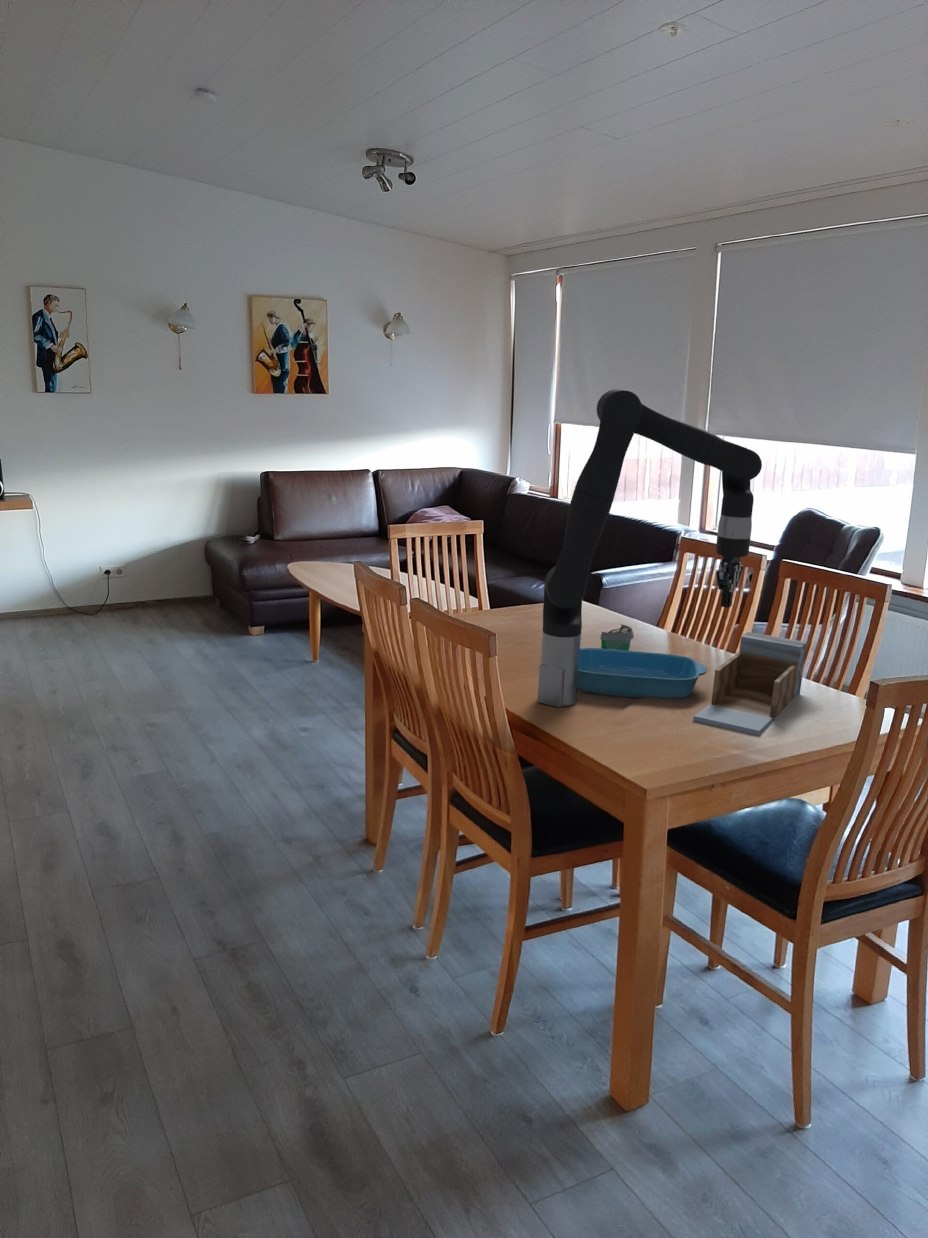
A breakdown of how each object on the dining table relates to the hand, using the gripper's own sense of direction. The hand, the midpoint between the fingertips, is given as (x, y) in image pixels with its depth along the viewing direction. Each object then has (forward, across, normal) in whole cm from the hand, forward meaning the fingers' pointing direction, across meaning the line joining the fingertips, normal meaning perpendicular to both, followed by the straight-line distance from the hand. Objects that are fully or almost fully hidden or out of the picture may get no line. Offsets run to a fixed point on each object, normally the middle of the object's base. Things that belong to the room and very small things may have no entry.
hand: (725, 606), depth 225 cm
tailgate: (+24, -4, -8) cm, 26 cm away
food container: (+25, +15, +33) cm, 44 cm away
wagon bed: (+25, +10, -7) cm, 28 cm away
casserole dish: (+25, 0, +22) cm, 34 cm away
